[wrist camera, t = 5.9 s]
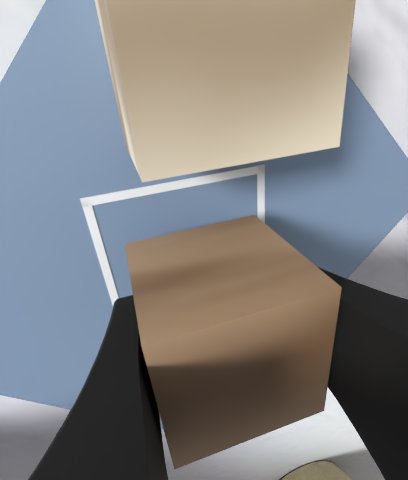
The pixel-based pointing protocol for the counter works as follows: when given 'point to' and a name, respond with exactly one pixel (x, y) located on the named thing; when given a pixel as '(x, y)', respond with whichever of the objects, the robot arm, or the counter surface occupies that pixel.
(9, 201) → the blueprint board
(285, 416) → the walnut block
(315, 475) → the plant pot
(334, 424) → the counter surface
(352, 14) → the ash block
